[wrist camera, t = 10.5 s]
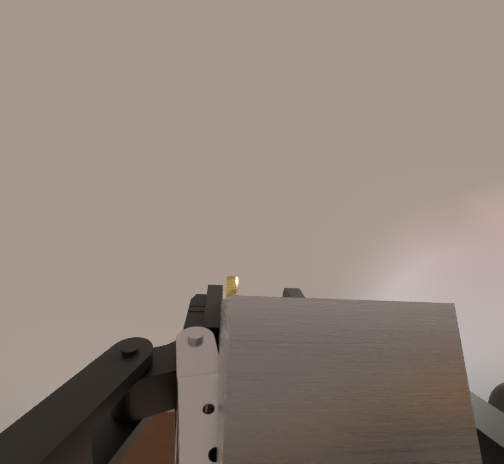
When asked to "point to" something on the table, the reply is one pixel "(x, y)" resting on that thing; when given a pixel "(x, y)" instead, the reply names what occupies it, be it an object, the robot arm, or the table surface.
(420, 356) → the bar
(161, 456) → the pedestal
